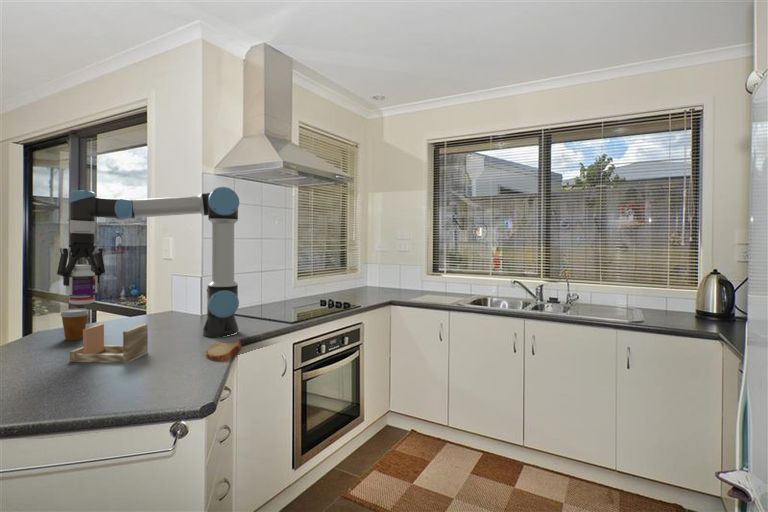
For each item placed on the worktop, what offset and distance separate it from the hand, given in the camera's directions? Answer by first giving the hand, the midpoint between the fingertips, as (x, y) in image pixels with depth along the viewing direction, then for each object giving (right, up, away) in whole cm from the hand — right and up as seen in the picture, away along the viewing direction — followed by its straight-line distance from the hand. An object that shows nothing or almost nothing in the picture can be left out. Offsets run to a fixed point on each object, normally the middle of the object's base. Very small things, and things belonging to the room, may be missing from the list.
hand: (81, 293), depth 157 cm
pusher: (+8, -22, -5) cm, 24 cm away
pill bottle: (0, -4, 0) cm, 4 cm away
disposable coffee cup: (-17, -21, +19) cm, 33 cm away
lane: (+14, -23, -5) cm, 27 cm away
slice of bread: (+52, -24, +4) cm, 58 cm away
